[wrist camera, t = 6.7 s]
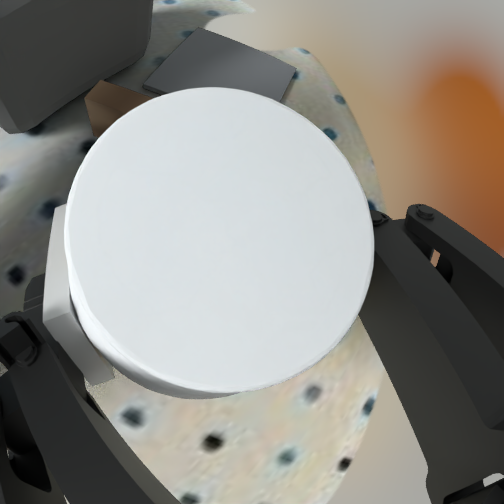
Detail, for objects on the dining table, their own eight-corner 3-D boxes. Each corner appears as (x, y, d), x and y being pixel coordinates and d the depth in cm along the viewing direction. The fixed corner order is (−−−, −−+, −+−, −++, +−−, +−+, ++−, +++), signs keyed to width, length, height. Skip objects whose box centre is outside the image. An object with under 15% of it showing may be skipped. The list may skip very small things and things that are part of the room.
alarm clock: (106, 21, 25) (110, -89, 10) (159, 63, 25) (181, -75, 11) (-15, 97, 19) (-62, -9, 5) (16, 158, 20) (-59, 26, 5)
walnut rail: (93, 135, 22) (84, 98, 17) (106, 118, 22) (100, 79, 18) (311, 235, 25) (343, 215, 20) (317, 214, 26) (349, 192, 21)
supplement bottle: (181, 209, 17) (240, 13, 5) (262, 294, 17) (457, 235, 5) (92, 290, 15) (-57, 206, 3) (179, 381, 15) (247, 530, 3)
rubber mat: (143, 88, 24) (143, 83, 24) (197, 31, 28) (198, 27, 27) (261, 138, 26) (263, 134, 25) (294, 71, 29) (296, 68, 29)
